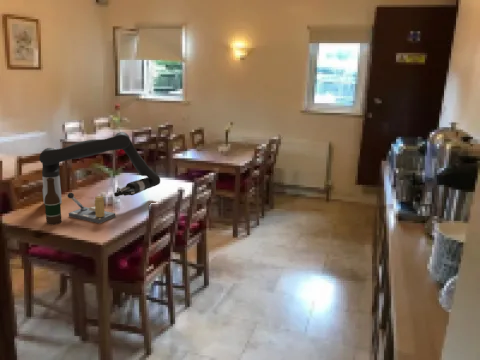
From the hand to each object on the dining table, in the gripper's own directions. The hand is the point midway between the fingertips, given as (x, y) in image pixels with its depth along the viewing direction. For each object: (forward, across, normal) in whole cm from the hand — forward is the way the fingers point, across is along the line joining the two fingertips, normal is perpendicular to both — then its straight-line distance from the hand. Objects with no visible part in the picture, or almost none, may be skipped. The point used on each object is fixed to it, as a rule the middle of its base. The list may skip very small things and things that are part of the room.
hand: (115, 194), depth 227 cm
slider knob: (+12, 0, +9) cm, 15 cm away
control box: (+10, -8, +11) cm, 17 cm away
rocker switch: (+8, -8, +9) cm, 14 cm away
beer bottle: (+26, -19, +11) cm, 34 cm away
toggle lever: (+9, -16, +8) cm, 20 cm away
